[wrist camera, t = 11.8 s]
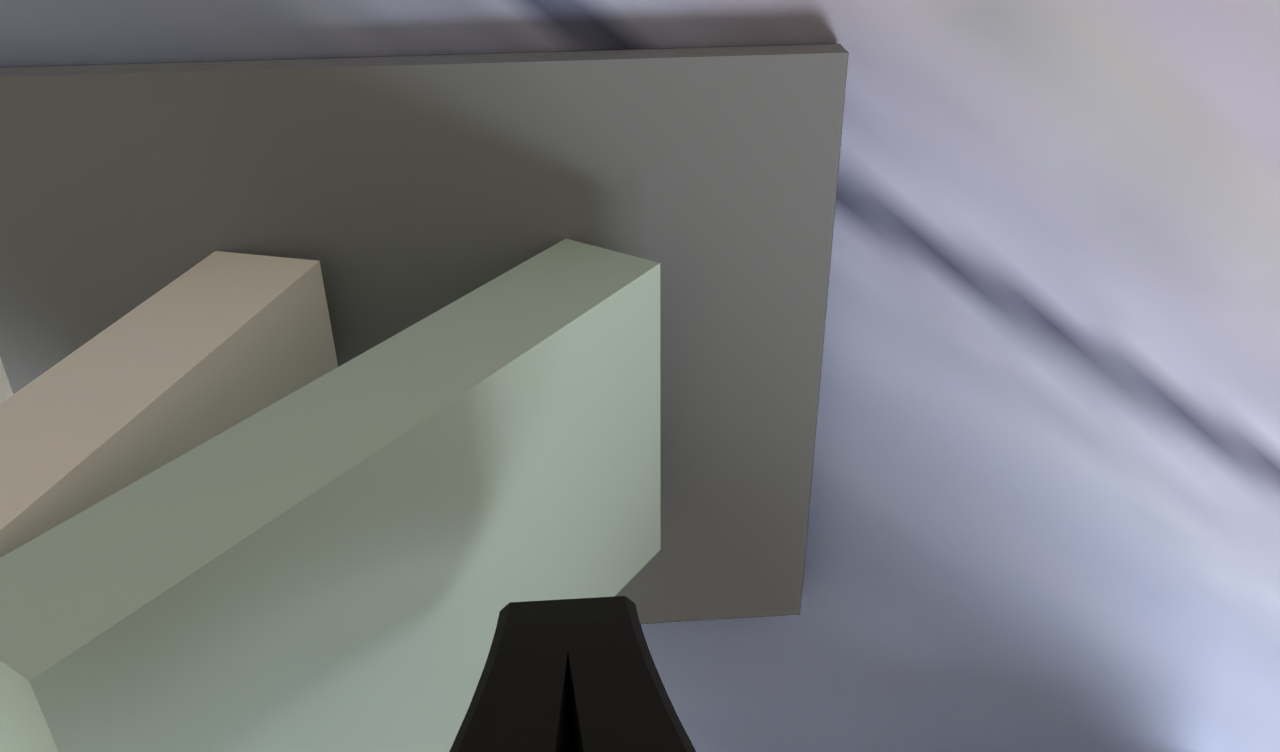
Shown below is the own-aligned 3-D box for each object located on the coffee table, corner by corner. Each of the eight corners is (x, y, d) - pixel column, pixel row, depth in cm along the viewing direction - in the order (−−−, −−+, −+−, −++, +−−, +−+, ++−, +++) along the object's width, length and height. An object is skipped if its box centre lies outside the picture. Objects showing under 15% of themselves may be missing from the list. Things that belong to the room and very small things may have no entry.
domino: (319, 261, 15) (-320, 801, 7) (369, 545, 17) (-65, 1165, 10) (215, 250, 15) (-501, 759, 8) (279, 531, 18) (-209, 1121, 10)
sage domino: (579, 516, 18) (84, 957, 11) (566, 238, 15) (-81, 603, 9) (660, 549, 17) (179, 1041, 11) (660, 262, 15) (27, 681, 8)
